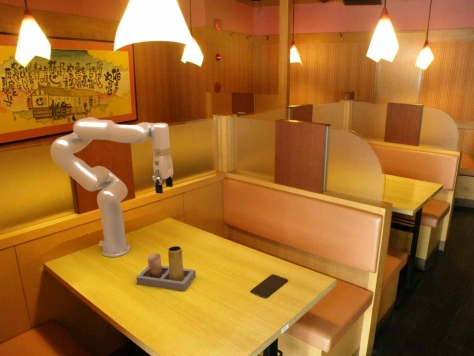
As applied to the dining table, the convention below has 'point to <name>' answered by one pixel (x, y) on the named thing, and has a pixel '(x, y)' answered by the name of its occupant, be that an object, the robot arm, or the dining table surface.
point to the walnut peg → (154, 266)
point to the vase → (175, 263)
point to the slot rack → (166, 279)
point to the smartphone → (269, 286)
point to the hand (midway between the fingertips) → (164, 189)
